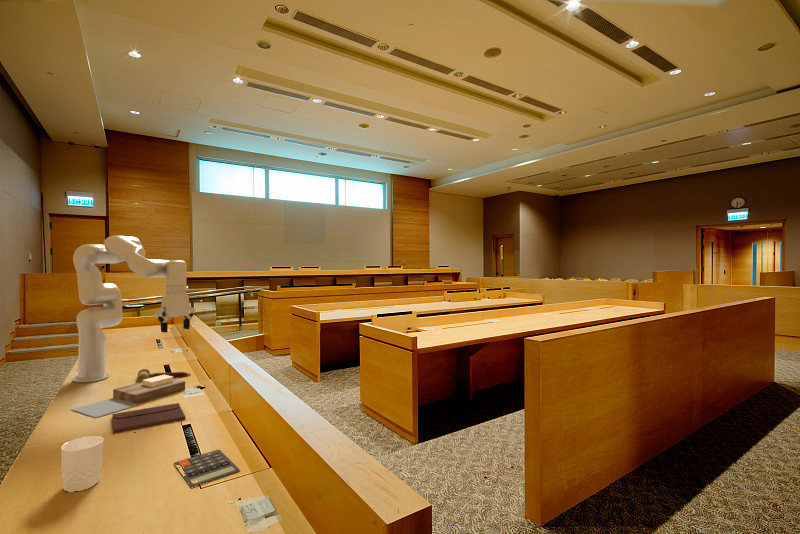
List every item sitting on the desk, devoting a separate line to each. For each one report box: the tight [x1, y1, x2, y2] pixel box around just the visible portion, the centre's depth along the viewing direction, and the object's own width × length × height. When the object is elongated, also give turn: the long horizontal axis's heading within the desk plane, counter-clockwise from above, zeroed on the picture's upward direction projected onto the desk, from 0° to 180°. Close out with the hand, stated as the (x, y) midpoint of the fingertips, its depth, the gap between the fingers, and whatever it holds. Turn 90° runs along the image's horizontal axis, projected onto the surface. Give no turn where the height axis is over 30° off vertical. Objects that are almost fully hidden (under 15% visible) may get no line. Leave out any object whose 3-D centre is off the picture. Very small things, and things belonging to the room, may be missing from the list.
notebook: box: [112, 402, 186, 434], centre depth 133 cm, size 15×20×2 cm
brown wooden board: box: [112, 378, 186, 405], centre depth 158 cm, size 14×20×4 cm
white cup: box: [60, 435, 104, 493], centre depth 93 cm, size 8×8×10 cm
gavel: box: [136, 368, 192, 383], centre depth 178 cm, size 21×5×10 cm
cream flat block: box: [142, 375, 174, 387], centre depth 160 cm, size 6×9×2 cm, turn 155°
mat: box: [71, 397, 139, 419], centre depth 142 cm, size 15×14×1 cm
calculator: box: [173, 449, 241, 488], centre depth 103 cm, size 12×1×15 cm
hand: (175, 330), depth 164 cm, fingers open, 9 cm apart
